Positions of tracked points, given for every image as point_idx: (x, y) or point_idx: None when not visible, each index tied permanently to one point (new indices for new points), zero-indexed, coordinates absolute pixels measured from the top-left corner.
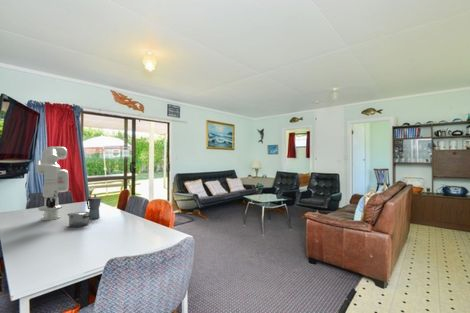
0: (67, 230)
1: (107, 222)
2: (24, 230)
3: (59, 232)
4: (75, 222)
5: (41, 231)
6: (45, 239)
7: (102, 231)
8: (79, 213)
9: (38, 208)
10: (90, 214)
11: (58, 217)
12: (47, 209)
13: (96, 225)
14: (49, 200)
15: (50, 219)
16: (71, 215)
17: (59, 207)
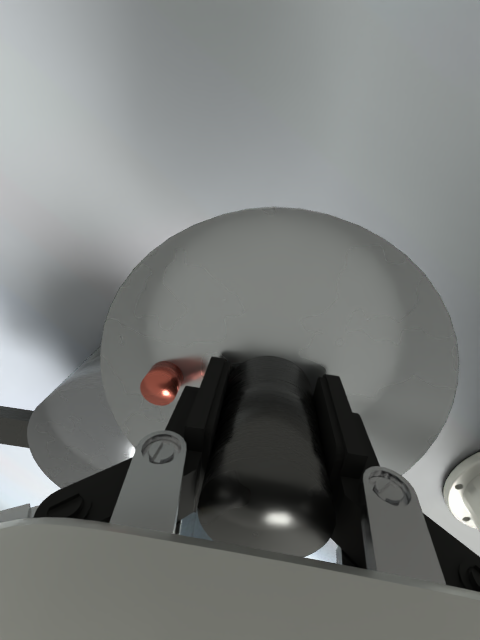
0: (96, 271)
1: (31, 455)
2: (459, 192)
3: (102, 216)
4: (92, 358)
5: (272, 204)
6: (10, 18)
7: None
8: (106, 457)
9: (377, 235)
10: (194, 528)
11: (446, 494)
12: (158, 246)
13: (29, 398)
14: (234, 461)
15: (476, 456)
16: (99, 392)
17: (109, 395)
